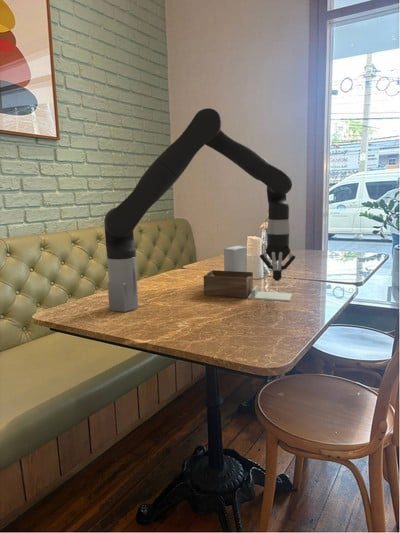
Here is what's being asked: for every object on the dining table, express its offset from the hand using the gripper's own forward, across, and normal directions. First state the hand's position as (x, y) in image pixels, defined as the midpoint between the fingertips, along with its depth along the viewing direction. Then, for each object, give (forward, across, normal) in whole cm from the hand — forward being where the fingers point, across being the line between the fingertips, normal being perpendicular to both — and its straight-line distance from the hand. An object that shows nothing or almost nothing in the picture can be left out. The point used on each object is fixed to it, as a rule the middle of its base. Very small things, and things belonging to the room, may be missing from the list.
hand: (277, 280), depth 141 cm
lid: (+7, -2, 0) cm, 7 cm away
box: (+6, -18, 0) cm, 19 cm away
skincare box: (+6, -20, +19) cm, 28 cm away
